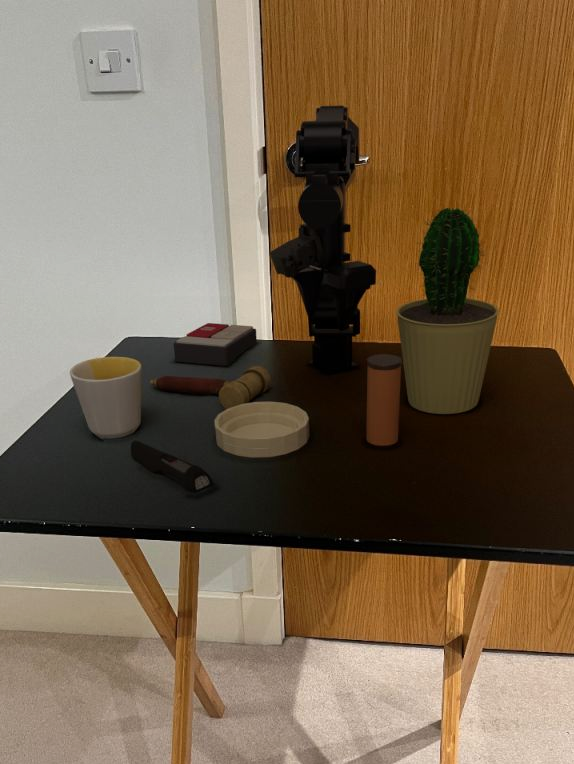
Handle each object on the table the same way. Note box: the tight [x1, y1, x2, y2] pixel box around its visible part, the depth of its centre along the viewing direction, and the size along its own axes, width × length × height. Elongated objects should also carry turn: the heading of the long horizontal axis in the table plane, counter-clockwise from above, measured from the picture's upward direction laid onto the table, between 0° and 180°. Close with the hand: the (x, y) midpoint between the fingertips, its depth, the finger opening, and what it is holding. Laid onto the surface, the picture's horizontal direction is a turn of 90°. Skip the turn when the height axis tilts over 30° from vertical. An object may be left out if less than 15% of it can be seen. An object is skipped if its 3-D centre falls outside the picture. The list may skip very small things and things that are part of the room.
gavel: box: [149, 365, 272, 410], centre depth 128 cm, size 21×5×10 cm
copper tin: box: [365, 353, 403, 446], centre depth 107 cm, size 5×5×12 cm
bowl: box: [213, 401, 310, 459], centre depth 111 cm, size 14×14×4 cm
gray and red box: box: [173, 322, 258, 367], centre depth 147 cm, size 11×4×15 cm
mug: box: [69, 356, 143, 440], centre depth 115 cm, size 14×10×10 cm
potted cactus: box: [395, 204, 499, 415], centre depth 116 cm, size 15×15×30 cm
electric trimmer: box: [130, 440, 214, 494], centre depth 103 cm, size 4×16×3 cm, turn 45°
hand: (326, 323), depth 118 cm, fingers open, 9 cm apart
